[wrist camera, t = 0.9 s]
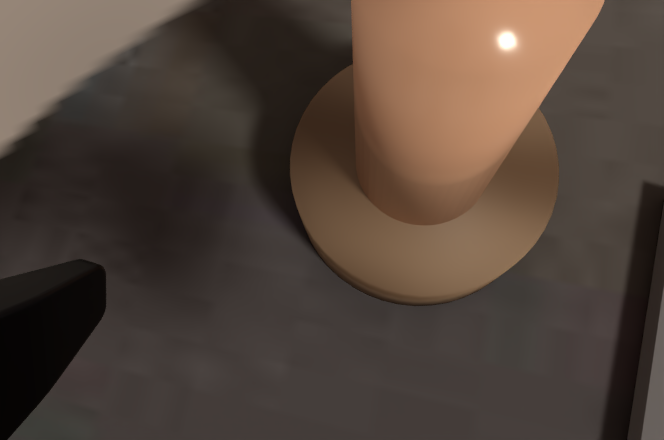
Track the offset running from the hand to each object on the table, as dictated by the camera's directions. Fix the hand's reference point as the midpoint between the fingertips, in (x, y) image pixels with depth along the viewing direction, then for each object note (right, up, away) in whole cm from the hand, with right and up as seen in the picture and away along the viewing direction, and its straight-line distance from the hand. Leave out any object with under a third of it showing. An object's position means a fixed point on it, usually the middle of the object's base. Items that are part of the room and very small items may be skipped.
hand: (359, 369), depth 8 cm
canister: (+3, +5, +12) cm, 13 cm away
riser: (+3, +4, +15) cm, 15 cm away
